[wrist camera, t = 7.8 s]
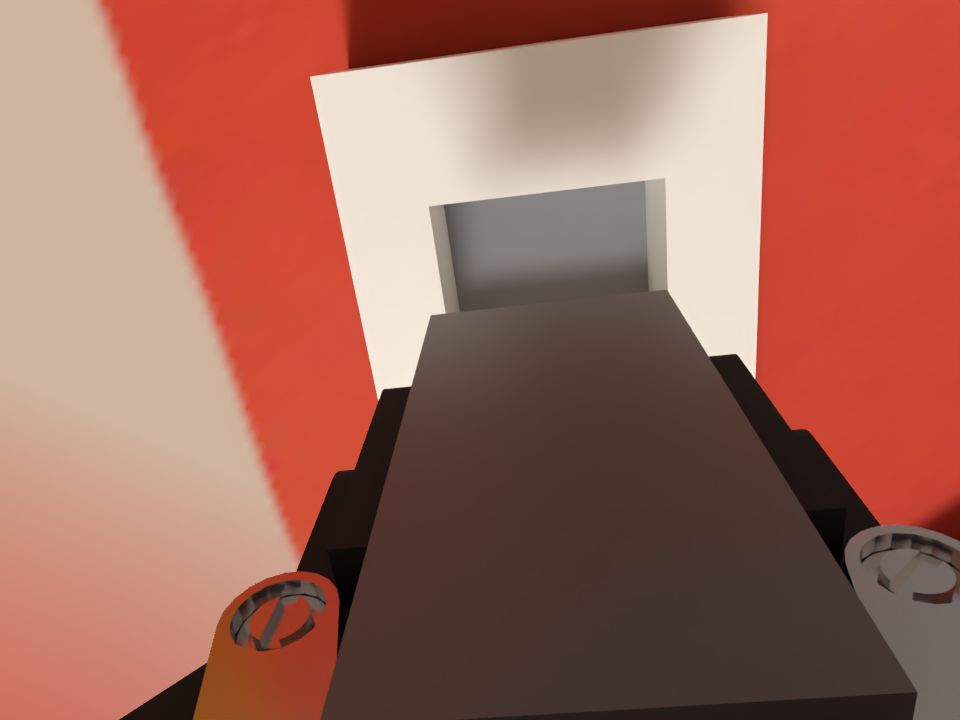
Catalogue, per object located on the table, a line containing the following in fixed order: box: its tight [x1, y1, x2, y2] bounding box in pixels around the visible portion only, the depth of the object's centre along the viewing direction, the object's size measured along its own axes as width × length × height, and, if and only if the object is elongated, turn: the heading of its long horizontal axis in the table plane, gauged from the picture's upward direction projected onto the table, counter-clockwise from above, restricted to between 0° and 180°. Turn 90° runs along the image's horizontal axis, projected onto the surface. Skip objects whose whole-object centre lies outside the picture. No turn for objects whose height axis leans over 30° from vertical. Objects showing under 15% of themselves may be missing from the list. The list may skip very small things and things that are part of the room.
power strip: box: [310, 13, 768, 401], centre depth 23 cm, size 10×26×4 cm, turn 7°
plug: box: [320, 290, 918, 720], centre depth 9 cm, size 4×4×8 cm
